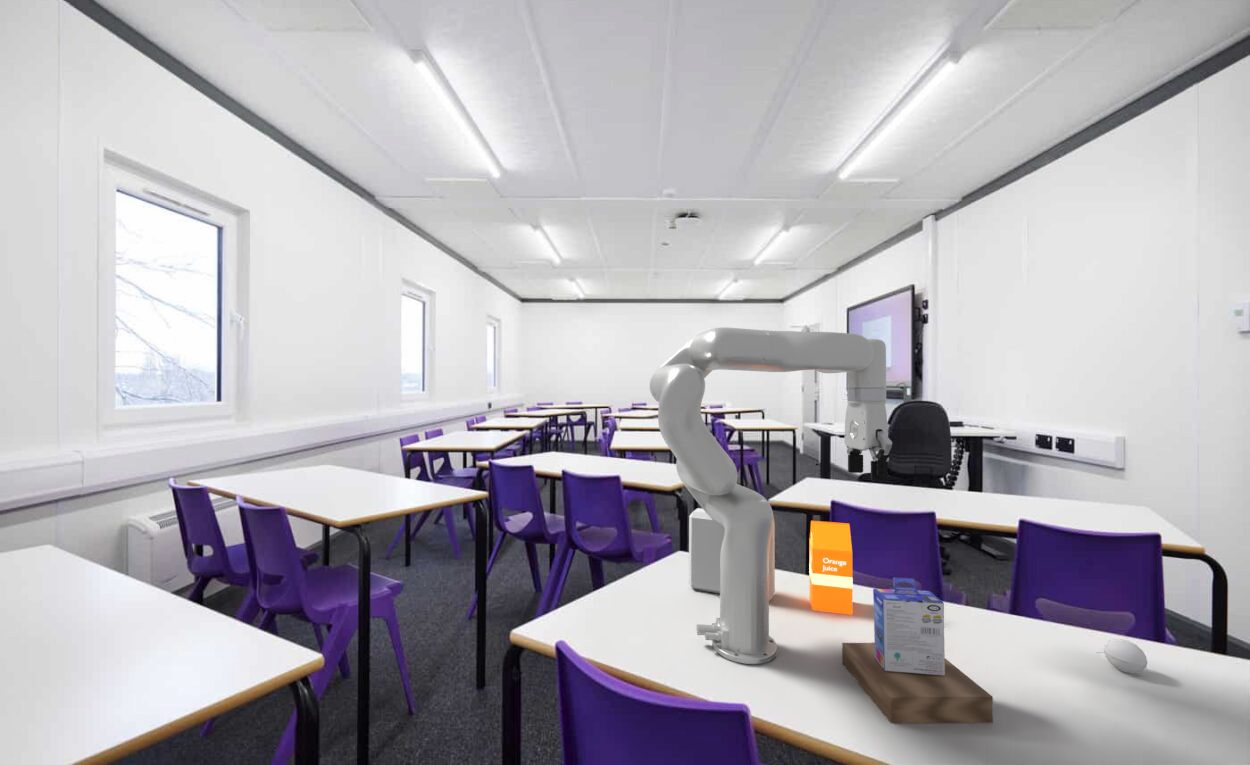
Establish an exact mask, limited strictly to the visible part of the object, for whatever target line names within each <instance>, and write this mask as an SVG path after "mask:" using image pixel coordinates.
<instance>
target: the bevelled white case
mask: <svg viewBox="0 0 1250 765" xmlns="http://www.w3.org/2000/svg"><path fill="white" fill-rule="evenodd" d="M688 518H689V520H688V522H689V524H688V526H689V527H688V585H689V586H690V587H691V589H693V590H697V589H698V591H702V590H703V591H704V592H708V593H709V592H710V593H713V594H714V593H715V594H719V595H720V554H721V547H722V542H723V539H724V534H725V528H723V527H722V526H721V525H719V524H718V523H716V522H715V521H714V520H712V519H711V518H710V517H709V516H708V514H707V513H706V512H705V511H704V510H703V508H702V507H701V508H700V507H699V508H698V507H697V508H695V509H694V510H692V512H691V513H690V514H689V516H688ZM775 523H776V522H775V520H774V523H773V529H772V535H771V540H770V548H769V602H770V601H772V600H773V598H774V595H775V590H776V588H775V586H776V585H775V576H776V575H775V571H776V570H775V569H776V567H775V561H776V560H775V558H776V556H775V552H776V551H775V547H776V545H775V544H776V542H775V541H776V540H775V538H776V537H775V536H776V535H775V534H776V531H775V530H776V527H775V526H776V524H775Z"/></svg>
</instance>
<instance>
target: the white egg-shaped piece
mask: <svg viewBox="0 0 1250 765" xmlns="http://www.w3.org/2000/svg"><path fill="white" fill-rule="evenodd" d="M1096 654H1104V657H1105V658H1106V660H1107V661H1108V662H1109V663H1110V664H1111V665H1112V666H1113V667H1114V668H1116V669H1118V670H1119V671H1122V672H1123V673H1126V674H1139V673H1142V672H1144V671H1145V669H1146V668H1147V666H1148V658H1147V656H1146V654H1145V652H1144V651H1143V649H1141V648H1140V646H1138V645H1137V644H1136V643H1134V642H1132V641H1129V640H1128V639H1124V638H1113V639H1111V640H1108V641H1107V642H1106V643H1105V644H1104V648H1103V651H1102V652H1096Z"/></svg>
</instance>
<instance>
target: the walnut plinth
mask: <svg viewBox="0 0 1250 765" xmlns="http://www.w3.org/2000/svg"><path fill="white" fill-rule="evenodd" d="M841 645H842V646H841V647H842V648H841V651H842V652H841V655H842V656H841V657H842V658H841V660H842V661H841V665H842V666H843V667H844V668H845V669H846V670H847V672H848V673H849V675H851V677H852V678H853V679H854V680H855V681H856V683H857V684H858V685H859V686H860V688H861V689H862V690H863V691H864V692H865V694H867V695H868V697H869V698H870V700H871V701H872V702H873V703H874V704H875V705H876V707H877V708H878V709H879V710H880V711H881V713H882V714H883V715H884V716H885V717H886V719H887V720H888V721H889V722H890V724H949V723H950V724H953V723H955V724H961V723H962V724H971V723H972V724H973V723H975V724H978V723H982V724H983V723H984V724H985V723H986V724H987V723H988V724H989V722H991V723H992V724H993V722H994V720H993V719H994V718H993V717H994V716H993V715H994V714H993V709H994V708H993V701H994V700H993V695H991V694H990V693H989V692H988V691H986V690H985V689H983V687H981V686H980V685H979V684H978V683H977V682H975V681H974V680H973V679H971V677H969V676H968V675H967V674H965V673H964V672H963V671H961V669H959V668H958V667H956V666H955V665H954V664H953V663H952V662H950V661H949V660H948V659H947V658H945V675H943V676H942V675H931V674H918V673H906V672H892V671H885V670H883V668H882V667H881V665H880V664H879V662H878V661H877V659H876V658H875V642H841Z"/></svg>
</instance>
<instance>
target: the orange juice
mask: <svg viewBox="0 0 1250 765" xmlns="http://www.w3.org/2000/svg"><path fill="white" fill-rule="evenodd" d="M852 545H853V544H852V536H851V527H850V523H845V522H834V521H820V520H810V532H809V563H808V564H809V565H808V566H809V568H808V569H809V571H808V573H809V577H808V578H809V586H808V587H809V590H808V591H809V600H810V606H811V609H812V610H813V611H821V612H828V613H829V612H830V613H834V614H835V613H836V614H844V615H851V616H852V615H853V590H854V589H853V587H854V586H853V582H854V580H853V577H854V576H853V546H852Z"/></svg>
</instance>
